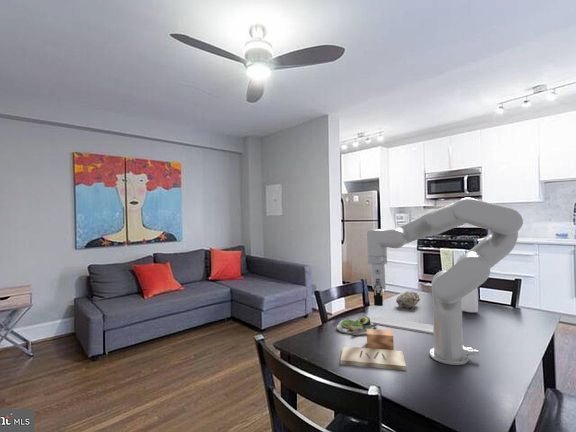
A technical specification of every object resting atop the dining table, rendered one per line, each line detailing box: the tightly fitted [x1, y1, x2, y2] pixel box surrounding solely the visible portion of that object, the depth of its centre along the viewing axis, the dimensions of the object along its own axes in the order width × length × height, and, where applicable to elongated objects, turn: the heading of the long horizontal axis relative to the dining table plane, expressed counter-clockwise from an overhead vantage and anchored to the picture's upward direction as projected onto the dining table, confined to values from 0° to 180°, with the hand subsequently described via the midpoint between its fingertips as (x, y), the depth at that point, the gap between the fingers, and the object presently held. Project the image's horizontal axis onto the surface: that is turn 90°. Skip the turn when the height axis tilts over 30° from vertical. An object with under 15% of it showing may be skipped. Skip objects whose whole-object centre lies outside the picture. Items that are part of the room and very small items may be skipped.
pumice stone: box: [395, 291, 421, 309], centre depth 176 cm, size 14×12×8 cm
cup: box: [462, 287, 479, 313], centre depth 163 cm, size 8×8×14 cm
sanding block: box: [366, 328, 395, 350], centre depth 124 cm, size 10×6×6 cm, turn 77°
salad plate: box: [336, 316, 379, 336], centre depth 143 cm, size 19×18×5 cm
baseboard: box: [368, 315, 434, 335], centre depth 148 cm, size 31×3×12 cm
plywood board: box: [340, 345, 407, 371], centre depth 113 cm, size 22×12×2 cm, turn 75°
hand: (378, 302), depth 124 cm, fingers open, 9 cm apart
